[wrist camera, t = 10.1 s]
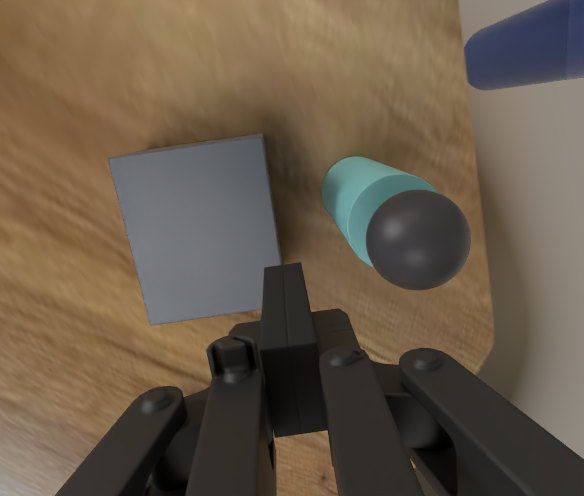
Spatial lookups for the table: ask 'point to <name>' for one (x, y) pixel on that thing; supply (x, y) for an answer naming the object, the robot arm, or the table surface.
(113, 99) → the table surface
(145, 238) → the gray block
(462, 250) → the teal cylinder with ball
